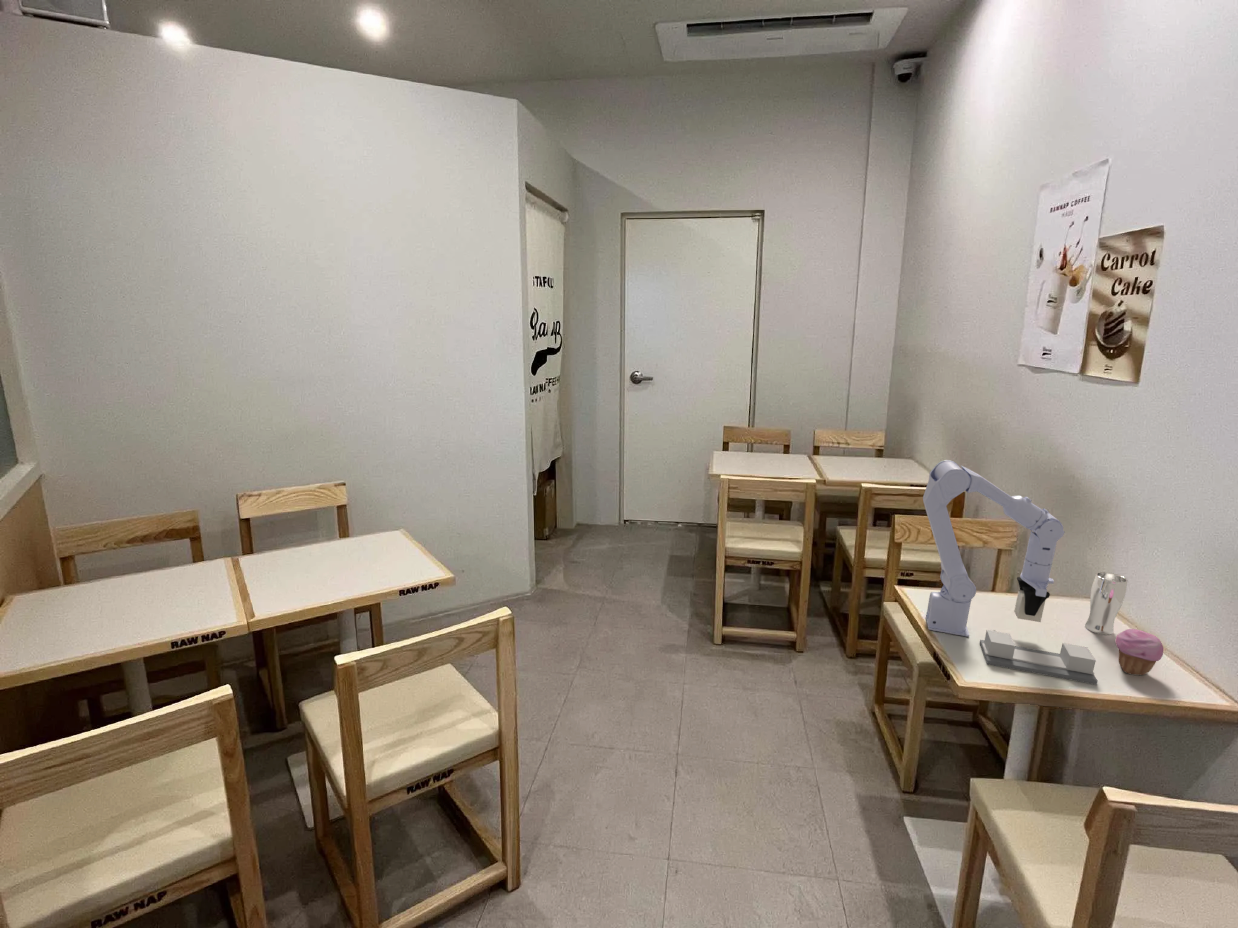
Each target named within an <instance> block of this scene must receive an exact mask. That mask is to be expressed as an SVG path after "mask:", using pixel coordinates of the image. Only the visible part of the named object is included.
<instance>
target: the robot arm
mask: <svg viewBox="0 0 1238 928" xmlns="http://www.w3.org/2000/svg"><path fill="white" fill-rule="evenodd" d="M964 492H966V493H968V494H970V493H974V492H975V493H976V492H978V493H980V494H981V495H983V496H985V497H986V498H988V499H990V500H991V501H993V502H994V503H996V504H998V505H999V506H1001V507H1002V509H1003V514H1004V515H1005V516H1006V517H1008V518H1010V519H1011V520H1013V521H1014V522H1016V523H1018V524H1020V525H1021V526H1022V527H1024V528H1026V529H1027V530H1030V533H1029V537H1028V538H1029V539H1028V542H1027V548H1026V551H1025V558H1024V560H1023V566H1022V570H1021V573H1020V575H1019V576H1018V577H1016V579H1017V582H1018V587H1019V590H1022V591H1024V596H1025V614H1026V615H1031V616H1035V615H1036V613H1037V612H1038V610H1039V608H1040V606H1041V605H1042V603H1043V602H1044V601H1045V602H1046V600H1047V599H1048V598H1049V597H1050V596H1051V594H1050V592H1049V591H1048V589H1047V588H1048V587H1049V584H1051V585H1052V584H1054V583H1055V580H1054V578H1051V577H1050V575H1051V571H1052V566H1053V561H1054V557H1055V553H1056V549H1057V548H1056V547H1057V543H1058V541H1059V540H1061V539H1062V538H1063V537H1064V535H1065V533H1066V532H1065V530H1064V525H1063V524H1062V522H1061V521H1060V520H1059V519H1058V518H1056V517H1055V516H1054V515H1052V514H1051V513H1050V511H1049V510H1048V509H1046V508H1041V507H1039V506H1038V505H1036V504H1034V503H1033V502H1032V501H1033V500H1032V498H1029V497H1028V496H1024V497H1023V496H1022V495H1010V494H1008V493H1007V492H1005V491H1004V490H1002V489H1001V488H999V487H998V486H996V485H995V484H994V483H992V482H991V481H989V480H988V479H986V478H985V477H984V476H982V475H980V474H979V473H977V472H975V471H973V470H972V469H970V468H968V467H965V465H964V466H963V465H959V464H958V463H957V462H955V461H953V460H950V459H945V460H941V461H939V462H938V463H937V464H935V466H934V467H933V468H932V470H930V472H929V474H928V481H927V484H926V487H925V490H924V493H923V496H922V500H923V501H922V502H923V505H924V509H925V512H926V515H927V518H928V523H929V525H930V529H931V531H932V532H931V533H932V535H933V539H934V542H935V545H936V549H937V553H938V556H939V559H940V568H941V571H940V576H939V577H940V580H941V583H942V584H943V585H942V587H941V589H940V591H931V592H930V593H929V597H928V603H927V610H926V614H925V619H926V623H927V628H928V630H929V631H935V632H940V633H945V634H951V635H957V636H961V637H962V636H963V637H970V633H969V628H968V626H967V624H968V621H969V614H970V609H971V608H970V607H971V602H972V600H973V599H974V598H975V596H976V595H977V588H976V585H975V584H974V582H973V581H972V580H971V578H970V577H969V574H968V572H967V570H966V567H965V565H964V561H963V559H962V556H961V553H960V550H959V549H960V548H959V545H958V542H957V539H956V535H955V532H954V528H953V525H952V521H951V518H950V515H949V511H948V507H947V506H948V505H949V503H950V502H951V501H952V500H953V499H955V498H956V497H958V496H959V495H961V494H962V493H964Z"/></svg>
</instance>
